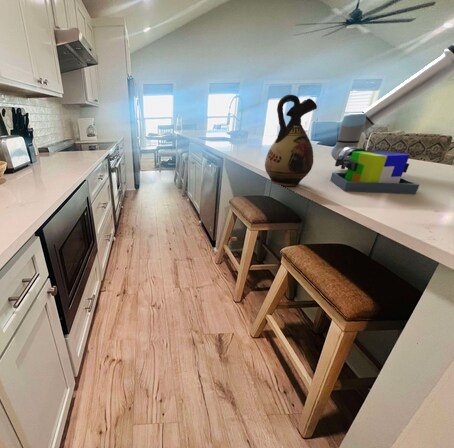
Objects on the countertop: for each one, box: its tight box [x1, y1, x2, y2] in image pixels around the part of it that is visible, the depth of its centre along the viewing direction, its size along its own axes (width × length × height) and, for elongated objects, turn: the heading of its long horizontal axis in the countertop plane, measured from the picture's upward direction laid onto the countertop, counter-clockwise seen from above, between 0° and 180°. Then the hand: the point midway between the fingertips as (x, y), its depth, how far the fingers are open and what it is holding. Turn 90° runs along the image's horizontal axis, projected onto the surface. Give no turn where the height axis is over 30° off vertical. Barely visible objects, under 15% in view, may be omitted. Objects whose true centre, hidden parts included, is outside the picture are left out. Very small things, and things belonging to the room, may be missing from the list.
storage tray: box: [330, 172, 420, 195], centre depth 82 cm, size 19×15×3 cm
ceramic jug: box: [259, 94, 318, 187], centre depth 85 cm, size 17×15×30 cm
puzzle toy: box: [345, 150, 411, 183], centre depth 80 cm, size 10×10×10 cm
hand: (380, 167), depth 77 cm, fingers closed on puzzle toy, 12 cm apart
